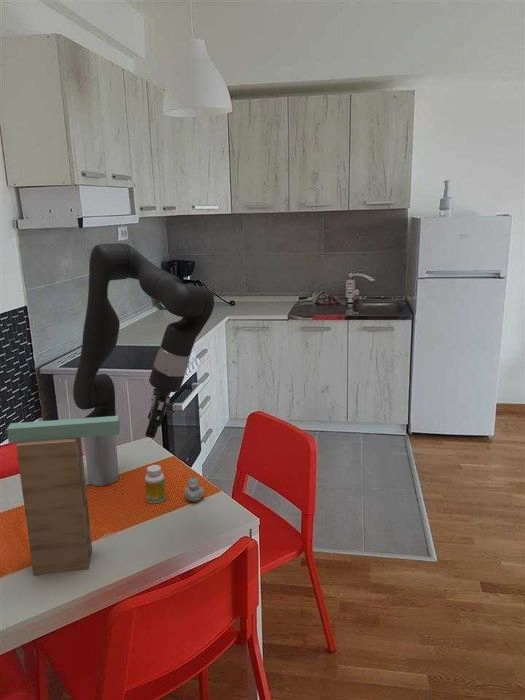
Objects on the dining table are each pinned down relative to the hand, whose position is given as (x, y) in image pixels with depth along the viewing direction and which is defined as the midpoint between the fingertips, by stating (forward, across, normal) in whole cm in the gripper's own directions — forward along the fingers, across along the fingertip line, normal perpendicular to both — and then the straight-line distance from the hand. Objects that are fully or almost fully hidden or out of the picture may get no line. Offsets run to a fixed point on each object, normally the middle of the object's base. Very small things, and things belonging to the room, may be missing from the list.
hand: (150, 427), depth 126 cm
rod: (+3, +6, -18) cm, 19 cm away
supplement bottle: (+31, -16, +9) cm, 36 cm away
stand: (+35, +10, -11) cm, 38 cm away
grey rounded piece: (+27, -15, +19) cm, 36 cm away
